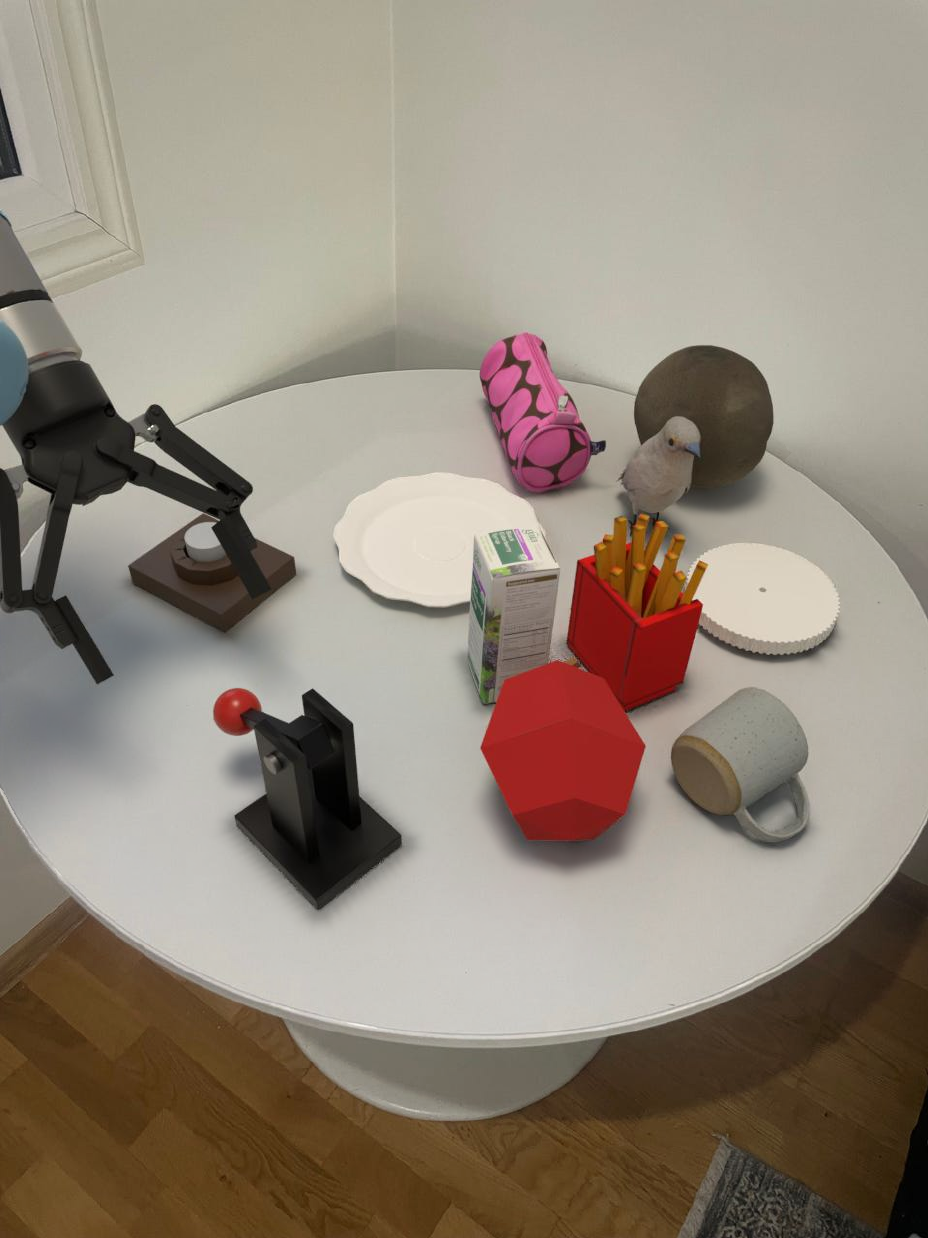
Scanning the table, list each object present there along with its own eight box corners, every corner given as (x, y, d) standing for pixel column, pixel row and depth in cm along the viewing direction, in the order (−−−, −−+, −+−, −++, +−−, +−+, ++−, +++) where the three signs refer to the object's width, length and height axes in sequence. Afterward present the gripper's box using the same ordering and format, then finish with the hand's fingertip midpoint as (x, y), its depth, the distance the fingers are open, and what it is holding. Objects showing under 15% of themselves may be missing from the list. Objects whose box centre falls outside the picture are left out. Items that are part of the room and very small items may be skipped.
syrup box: (465, 659, 89) (469, 532, 79) (528, 648, 90) (539, 521, 80) (482, 706, 85) (489, 578, 75) (548, 694, 86) (563, 565, 76)
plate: (321, 499, 105) (320, 486, 104) (509, 474, 109) (510, 461, 108) (355, 633, 91) (354, 619, 90) (571, 598, 95) (573, 585, 94)
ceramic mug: (656, 777, 79) (673, 715, 74) (723, 729, 83) (744, 667, 78) (759, 870, 74) (786, 810, 68) (827, 814, 77) (858, 753, 72)
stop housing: (132, 583, 95) (123, 550, 92) (206, 529, 101) (200, 498, 99) (224, 632, 90) (218, 600, 88) (296, 574, 97) (292, 542, 94)
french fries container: (627, 623, 93) (649, 501, 83) (686, 687, 87) (718, 565, 77) (563, 646, 90) (578, 524, 80) (620, 715, 84) (644, 592, 75)
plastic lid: (837, 580, 98) (844, 561, 96) (827, 678, 88) (835, 658, 86) (694, 549, 101) (699, 529, 99) (670, 640, 91) (675, 620, 89)
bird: (652, 575, 98) (678, 446, 87) (599, 496, 107) (617, 371, 97) (697, 566, 99) (728, 438, 88) (641, 489, 108) (663, 364, 98)
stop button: (178, 552, 93) (175, 538, 92) (208, 531, 95) (206, 516, 94) (209, 568, 91) (206, 554, 90) (239, 546, 94) (237, 531, 93)
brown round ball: (702, 432, 116) (728, 312, 106) (782, 497, 107) (819, 372, 97) (601, 462, 112) (618, 339, 101) (676, 532, 103) (703, 406, 92)
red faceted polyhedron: (473, 868, 74) (467, 694, 83) (631, 870, 76) (609, 698, 84) (491, 804, 65) (483, 614, 73) (673, 807, 66) (644, 619, 74)
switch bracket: (235, 825, 75) (209, 714, 67) (319, 767, 80) (304, 655, 71) (318, 911, 70) (301, 803, 62) (402, 844, 74) (398, 734, 66)
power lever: (216, 739, 76) (197, 699, 75) (254, 714, 78) (237, 675, 77) (304, 783, 66) (285, 738, 65) (346, 753, 68) (328, 709, 67)
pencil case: (602, 492, 107) (613, 411, 101) (515, 503, 106) (521, 421, 99) (545, 391, 122) (552, 315, 116) (469, 399, 121) (471, 322, 114)
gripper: (174, 345, 82) (302, 572, 84) (-139, 461, 69) (23, 724, 71) (200, 306, 75) (337, 553, 78) (-140, 426, 62) (38, 717, 65)
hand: (187, 635), depth 75 cm, fingers open, 13 cm apart
